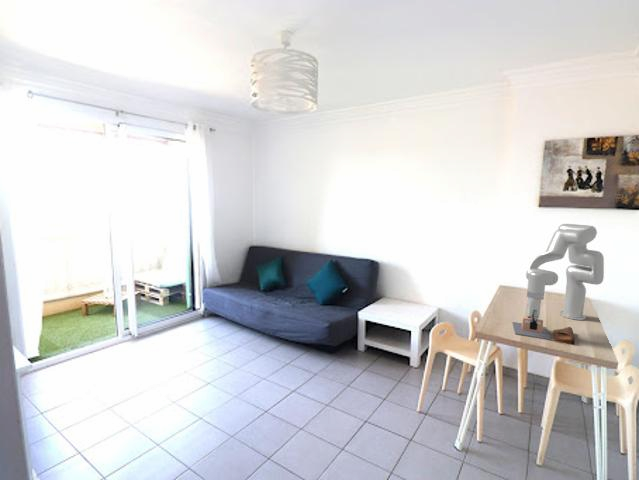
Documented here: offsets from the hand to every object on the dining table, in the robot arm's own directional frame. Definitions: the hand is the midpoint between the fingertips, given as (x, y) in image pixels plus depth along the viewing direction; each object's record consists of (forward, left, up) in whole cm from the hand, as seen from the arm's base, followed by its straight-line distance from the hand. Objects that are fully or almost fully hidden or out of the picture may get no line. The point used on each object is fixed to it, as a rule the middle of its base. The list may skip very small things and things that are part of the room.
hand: (531, 326), depth 177 cm
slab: (0, 0, -2) cm, 2 cm away
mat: (-1, 0, -3) cm, 3 cm away
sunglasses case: (0, +14, -4) cm, 15 cm away
